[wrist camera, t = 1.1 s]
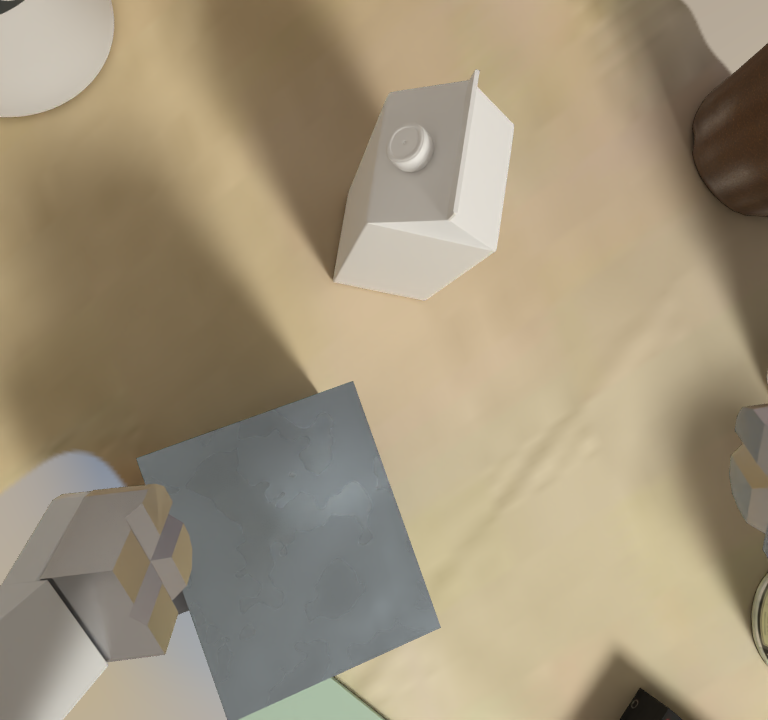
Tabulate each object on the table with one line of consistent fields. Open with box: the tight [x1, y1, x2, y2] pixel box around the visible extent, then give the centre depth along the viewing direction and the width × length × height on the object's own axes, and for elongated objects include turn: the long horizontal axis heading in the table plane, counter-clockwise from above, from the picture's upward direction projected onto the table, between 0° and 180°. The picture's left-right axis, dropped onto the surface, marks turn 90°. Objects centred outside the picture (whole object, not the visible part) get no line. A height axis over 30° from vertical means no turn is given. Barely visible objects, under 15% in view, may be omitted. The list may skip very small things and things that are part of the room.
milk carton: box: [333, 69, 514, 301], centre depth 39 cm, size 7×7×19 cm
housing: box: [136, 381, 441, 720], centre depth 37 cm, size 10×12×17 cm
